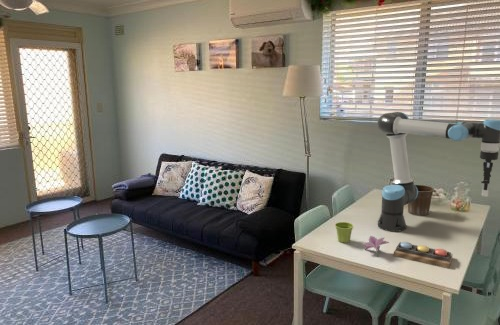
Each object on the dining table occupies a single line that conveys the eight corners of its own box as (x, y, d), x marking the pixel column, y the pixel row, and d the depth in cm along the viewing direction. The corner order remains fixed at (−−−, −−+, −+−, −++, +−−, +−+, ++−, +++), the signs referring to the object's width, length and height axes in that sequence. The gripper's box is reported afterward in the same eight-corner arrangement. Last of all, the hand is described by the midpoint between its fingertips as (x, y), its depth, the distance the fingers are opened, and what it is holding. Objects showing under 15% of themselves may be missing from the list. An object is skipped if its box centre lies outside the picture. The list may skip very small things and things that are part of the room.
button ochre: (416, 251, 174) (416, 248, 173) (418, 247, 178) (418, 244, 178) (427, 253, 171) (428, 250, 171) (429, 249, 175) (430, 246, 175)
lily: (392, 254, 180) (388, 235, 183) (388, 254, 170) (383, 233, 173) (367, 258, 185) (363, 238, 188) (362, 258, 175) (358, 237, 178)
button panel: (393, 255, 177) (393, 249, 176) (399, 246, 186) (399, 240, 186) (448, 268, 164) (449, 260, 163) (452, 257, 173) (452, 250, 173)
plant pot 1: (342, 245, 189) (343, 229, 187) (330, 239, 197) (331, 224, 196) (356, 242, 193) (357, 226, 192) (344, 236, 202) (344, 220, 200)
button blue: (399, 247, 178) (399, 244, 178) (401, 244, 182) (402, 241, 182) (410, 250, 175) (410, 247, 175) (412, 246, 179) (413, 243, 179)
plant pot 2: (406, 216, 229) (408, 191, 226) (402, 208, 245) (403, 184, 242) (435, 217, 226) (437, 192, 223) (428, 209, 241) (430, 185, 238)
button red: (433, 254, 170) (434, 251, 169) (435, 250, 174) (435, 247, 173) (446, 257, 167) (446, 254, 167) (447, 253, 171) (448, 250, 171)
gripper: (499, 156, 171) (493, 200, 175) (498, 147, 191) (493, 187, 196) (480, 154, 174) (475, 198, 179) (481, 146, 195) (476, 185, 199)
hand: (484, 192), depth 187 cm, fingers open, 13 cm apart
